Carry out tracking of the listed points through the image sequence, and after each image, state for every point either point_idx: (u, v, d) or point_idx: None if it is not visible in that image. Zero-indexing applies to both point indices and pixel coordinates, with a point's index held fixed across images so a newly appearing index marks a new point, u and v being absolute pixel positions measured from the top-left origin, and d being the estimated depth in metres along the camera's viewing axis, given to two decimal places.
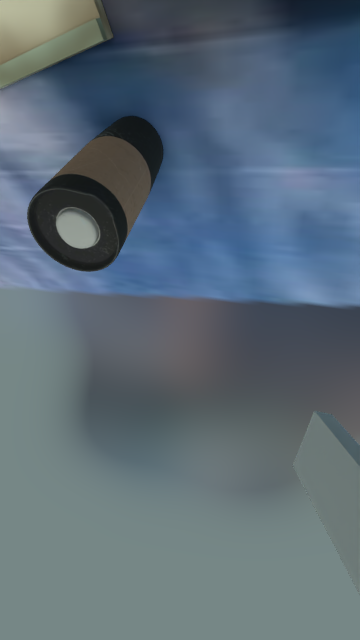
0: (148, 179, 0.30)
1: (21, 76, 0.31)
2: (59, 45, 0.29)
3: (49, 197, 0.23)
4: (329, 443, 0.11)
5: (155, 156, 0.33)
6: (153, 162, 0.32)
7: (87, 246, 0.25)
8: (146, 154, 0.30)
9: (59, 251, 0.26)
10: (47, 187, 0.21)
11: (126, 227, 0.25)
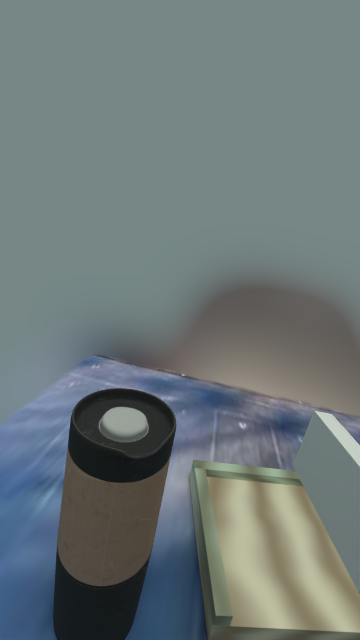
0: (88, 574, 0.21)
1: (201, 512, 0.34)
2: (217, 561, 0.29)
3: (162, 422, 0.23)
4: (329, 443, 0.11)
5: (90, 621, 0.22)
6: (90, 607, 0.22)
7: (104, 418, 0.21)
8: (109, 596, 0.21)
9: (108, 400, 0.24)
10: (175, 423, 0.22)
11: (94, 472, 0.19)
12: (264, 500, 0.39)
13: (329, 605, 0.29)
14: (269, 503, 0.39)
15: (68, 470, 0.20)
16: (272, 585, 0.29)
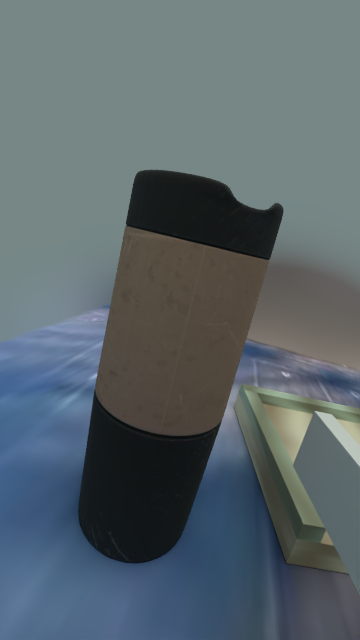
0: (144, 412, 0.14)
1: (261, 426, 0.27)
2: (291, 472, 0.22)
3: None
4: (329, 443, 0.11)
5: (138, 495, 0.15)
6: (141, 471, 0.15)
7: None
8: (170, 455, 0.15)
9: None
10: None
11: (173, 226, 0.12)
12: None
13: None
14: None
15: (126, 252, 0.14)
16: None
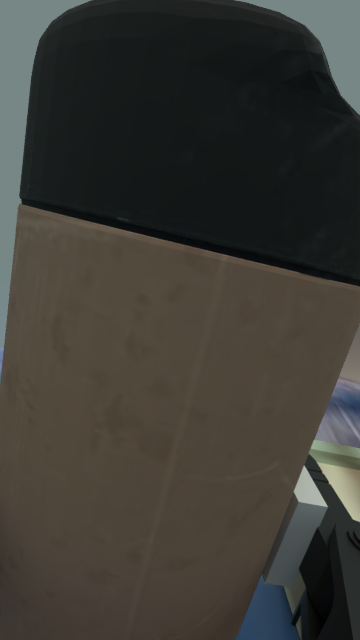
0: None
1: None
2: None
3: None
4: None
5: None
6: None
7: None
8: None
9: None
10: None
11: (118, 190, 0.04)
12: None
13: None
14: None
15: (13, 269, 0.05)
16: None
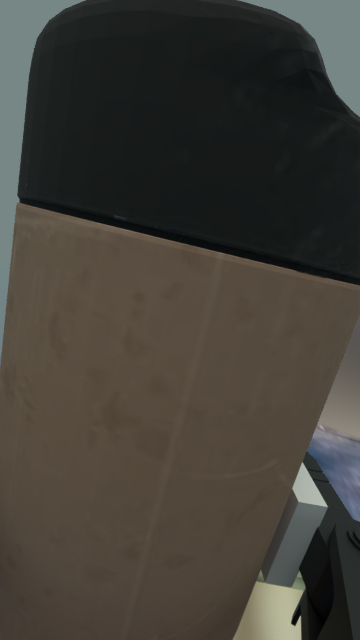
0: None
1: None
2: None
3: None
4: None
5: None
6: None
7: None
8: None
9: None
10: None
11: (115, 188, 0.04)
12: (250, 631, 0.19)
13: None
14: None
15: (11, 268, 0.05)
16: None
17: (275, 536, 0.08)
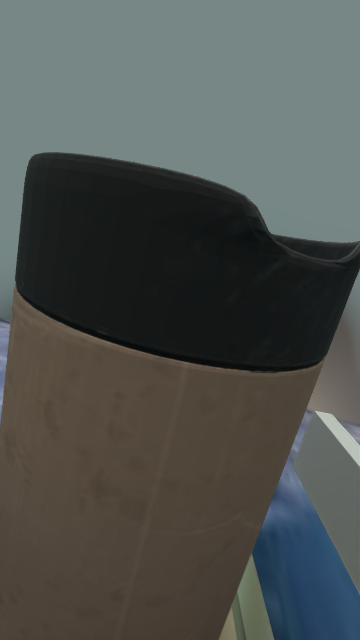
0: None
1: None
2: None
3: None
4: (329, 443, 0.11)
5: None
6: None
7: None
8: None
9: None
10: None
11: (98, 309, 0.04)
12: None
13: None
14: None
15: (10, 344, 0.06)
16: None
17: None
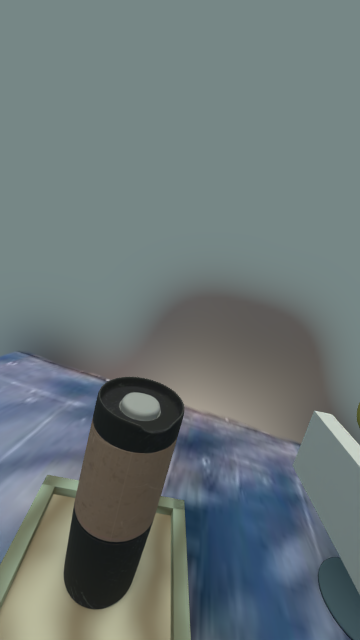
0: (101, 530, 0.25)
1: (15, 537, 0.30)
2: None
3: (172, 409, 0.27)
4: (329, 442, 0.11)
5: (98, 572, 0.26)
6: (99, 560, 0.25)
7: (124, 400, 0.25)
8: (116, 551, 0.25)
9: (127, 386, 0.28)
10: None
11: (115, 441, 0.23)
12: None
13: None
14: None
15: (92, 440, 0.24)
16: (55, 635, 0.25)
17: None
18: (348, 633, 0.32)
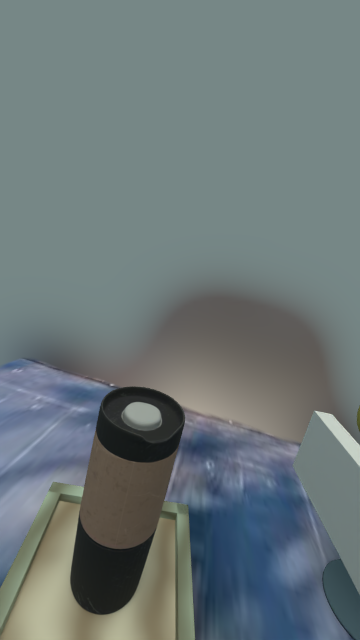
0: (105, 537, 0.25)
1: (22, 545, 0.31)
2: (2, 608, 0.26)
3: (173, 417, 0.27)
4: (329, 443, 0.11)
5: (103, 579, 0.26)
6: (105, 567, 0.26)
7: (126, 410, 0.26)
8: (121, 558, 0.26)
9: (129, 396, 0.29)
10: (184, 418, 0.27)
11: (117, 451, 0.23)
12: None
13: None
14: None
15: (95, 450, 0.25)
16: None
17: None
18: (353, 635, 0.33)
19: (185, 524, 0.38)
